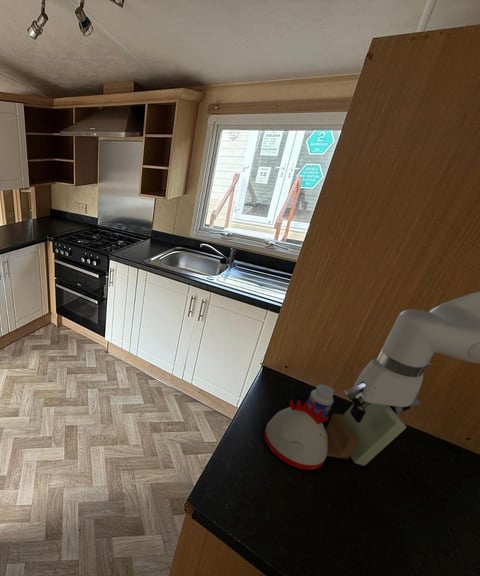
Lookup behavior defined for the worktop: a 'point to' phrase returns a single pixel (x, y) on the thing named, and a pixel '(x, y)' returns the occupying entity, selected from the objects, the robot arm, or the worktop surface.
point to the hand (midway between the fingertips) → (369, 419)
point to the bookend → (340, 438)
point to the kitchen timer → (298, 436)
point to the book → (373, 431)
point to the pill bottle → (321, 399)
